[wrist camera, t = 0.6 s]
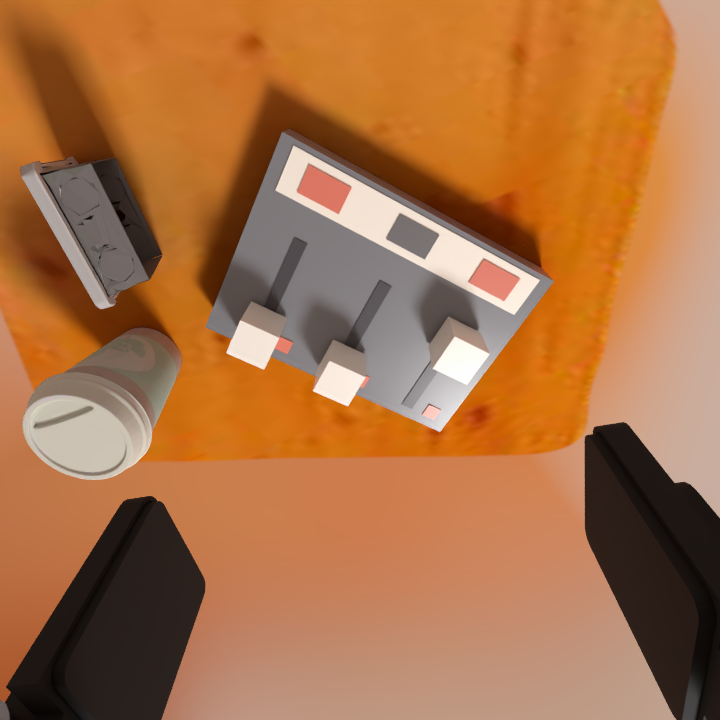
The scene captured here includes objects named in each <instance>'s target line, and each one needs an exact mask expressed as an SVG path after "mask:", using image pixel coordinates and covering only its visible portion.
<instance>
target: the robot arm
mask: <svg viewBox="0 0 720 720" xmlns="http://www.w3.org/2000/svg"><path fill="white" fill-rule="evenodd" d="M585 531H586V536H587V539H588V542H589V545H590V547H591V549H592V551H593V553H594V555H595V557H596V559H597V561H598V563H599V565H600V567H601V569H602V571H603V573H604V575H605V578H606V580H607V582H608V584H609V585H610V588H611V590H612V592H613V594H614V596H615V598H616V600H617V602H618V604H619V606H620V608H621V610H622V612H623V614H624V616H625V618H626V620H627V622H628V624H629V626H630V629H631V631H632V633H633V635H634V637H635V639H636V641H637V643H638V645H639V647H640V649H641V651H642V653H643V655H644V657H645V659H646V661H647V663H648V665H649V667H650V669H651V671H652V673H653V675H654V677H655V680H656V681H657V684H658V686H659V688H660V690H661V692H662V694H663V696H664V698H665V700H666V702H667V704H668V706H669V708H670V710H671V712H672V714H673V715H674V717H675V718H676V719H677V720H720V518H719V517H718V516H717V514H716V513H715V512H714V511H713V510H712V508H711V507H710V506H709V505H708V504H707V503H706V501H705V500H704V499H703V498H702V496H701V495H700V494H699V493H698V492H697V491H696V490H695V489H694V488H693V487H692V486H691V485H690V484H688V483H686V482H680V483H674V482H673V481H672V479H671V478H670V477H669V476H668V474H667V473H666V472H665V471H664V470H663V468H662V467H661V466H660V464H659V463H658V462H657V460H655V458H654V457H653V455H652V454H651V453H650V452H649V450H648V449H647V448H646V447H645V446H644V444H643V443H642V442H641V440H640V439H639V438H638V437H637V435H636V434H635V433H634V432H633V430H632V429H631V428H630V426H629V425H627V423H624V422H622V423H616V424H609V425H603V426H597V427H594V430H593V434H592V435H587V436H586V437H585ZM204 593H205V580H204V577H203V575H202V574H201V571H200V570H199V568H198V566H197V564H196V562H195V560H194V559H193V557H192V555H191V553H190V551H189V549H188V548H187V546H186V544H185V542H184V540H183V539H182V537H181V535H180V533H179V531H178V530H177V528H176V526H175V524H174V522H173V520H172V518H171V517H170V515H169V513H168V511H167V509H166V508H165V506H164V504H163V503H162V502H160V501H157V500H156V499H155V498H154V497H152V496H147V497H140V498H134V499H127V500H125V501H124V502H123V503H122V504H121V505H120V507H119V508H118V510H117V512H116V513H115V515H114V516H113V518H112V519H111V521H110V523H109V524H108V526H107V527H106V529H105V531H104V532H103V534H102V535H101V537H100V538H99V540H98V542H97V543H96V545H95V547H94V548H93V550H92V551H91V553H90V555H89V556H88V558H87V559H86V561H85V562H84V564H83V565H82V567H81V569H80V571H79V572H78V573H77V575H76V577H75V578H74V580H73V581H72V583H71V584H70V586H69V588H68V589H67V591H66V592H65V594H64V596H63V597H62V599H61V600H60V602H59V604H58V605H57V607H56V608H55V610H54V611H53V613H52V615H51V616H50V618H49V620H48V621H47V623H46V624H45V626H44V628H43V629H42V631H41V632H40V634H39V636H38V637H37V638H36V640H35V642H34V643H33V645H32V646H31V648H30V650H29V651H28V653H27V655H26V656H25V658H24V659H23V661H22V662H21V664H20V666H19V667H18V669H17V670H16V672H15V674H14V675H13V677H12V678H11V680H10V681H9V683H8V685H7V686H6V688H7V689H9V691H11V694H10V695H9V697H8V698H7V700H6V702H5V703H4V702H2V701H1V700H0V720H161V719H162V716H163V713H164V710H165V707H166V704H167V701H168V698H169V695H170V692H171V690H172V687H173V683H174V681H175V678H176V675H177V672H178V669H179V666H180V664H181V661H182V658H183V655H184V652H185V649H186V646H187V643H188V640H189V637H190V634H191V631H192V629H193V626H194V623H195V620H196V617H197V614H198V611H199V608H200V605H201V603H202V599H203V597H204Z"/></svg>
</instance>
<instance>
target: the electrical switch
mask: <svg viewBox="0 0 720 720" xmlns="http://www.w3.org/2000/svg"><path fill="white" fill-rule="evenodd" d="M110 159H111V160H110ZM107 160H108V161H107ZM20 171H21V177H22V178H23V180H24V182H25V184H26V185H27V187H28V189H29V191H30V192H31V194H32V196H33V198H34V199H35V201H36V203H37V205H38V206H39V208H40V210H41V212H42V213H43V215H44V217H45V219H46V220H47V222H48V224H49V226H50V227H51V229H52V231H53V233H54V234H55V236H56V238H57V240H58V241H59V243H60V245H61V246H62V248H63V250H64V252H65V253H66V255H67V257H68V259H69V260H70V262H71V264H72V266H73V267H74V269H75V271H76V273H77V274H78V276H79V278H80V280H81V281H82V283H83V285H84V287H85V288H86V290H87V292H88V294H89V295H90V297H91V299H92V301H93V302H94V304H95V305H96V306H97V307H98V308H99V309H104V308H108V307H112V306H114V305H115V304H116V300H115V299H116V297H117V296H118V295H119V293H120V292H121V291H123V290H126V289H128V288H129V287H131V286H133V285H135V284H138V283H141V282H144V281H147V280H150V278H151V276H152V274H153V273H154V271H155V269H156V267H157V265H158V263H159V261H160V259H161V257H162V256H163V255H162V256H160V255H161V252H160V250H159V248H158V246H157V244H156V241H155V239H154V237H153V235H152V233H151V231H150V229H149V227H148V225H147V223H146V221H145V218H144V216H143V214H142V212H141V210H140V208H139V206H138V204H137V202H136V200H135V198H134V195H133V193H132V191H131V189H130V187H129V185H128V183H127V181H126V179H125V177H124V175H123V172H122V170H121V168H120V166H119V164H118V162H117V160H116V159H113V158H108V159H103V160H98V161H97V160H95V161H93V162H87V163H83V164H79V163H78V162H77V161H76V160H75V159H74V157H67V159H65V160H61V161H54V162H48V163H40V161H38V162H33V163H30V164H27V165H25V166H22V167H20ZM101 175H103V176H101ZM119 180H120V181H121V182H120V181H119ZM124 192H125V196H124ZM119 201H121V202H120V203H118V204H111V203H113V202H119ZM117 210H121V211H122V212H123V213H124V215H125V219H124V220H123V221H121V222H120V220H119V218H118V216H117V214H116V212H115V211H117ZM128 224H132V225H129V226H127V227H125V228H123V227H124V226H125V225H128ZM143 229H144V230H145V231H144V230H143ZM157 256H159V257H157ZM154 257H156V258H154ZM151 258H152V259H151Z"/></svg>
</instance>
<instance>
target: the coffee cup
mask: <svg viewBox="0 0 720 720" xmlns="http://www.w3.org/2000/svg"><path fill="white" fill-rule="evenodd" d="M180 368H181V356H180V352H179V350H178V348H177V347H176V345H175V344H174V343H173V341H172V340H171V339H170V338H168V337H167V336H166V335H164V334H163V333H161V332H159V331H157V330H154V329H150V328H143V327H140V328H133V329H130V330H128V331H126V332H125V333H123V334H122V335H120V336H119V337H117V338H116V339H114V340H113V341H111V342H110V343H108V344H107V345H105V346H104V347H102V348H101V349H99V350H97V351H96V352H94V353H93V354H91V355H90V356H88V357H87V358H85V359H84V360H82V361H81V362H79V363H78V364H76V365H75V366H73V367H72V368H70V369H69V370H67V371H66V372H64V373H62V374H58V375H54V376H52V377H50V378H48V379H46V380H45V381H43V382H42V383H41V384H40V385H39V386H38V387H37V388H36V390H35V392H34V393H33V394H32V396H31V398H30V400H29V402H28V406H27V410H26V412H25V414H24V417H23V423H22V424H23V432H24V436H25V438H26V440H27V442H28V444H29V446H30V447H31V449H32V450H33V451H34V453H35V454H36V455H37V456H38V457H39V458H40V459H42V460H43V461H44V462H45V463H47V464H48V465H50V466H51V467H52V468H54V469H56V470H58V471H60V472H62V473H64V474H67V475H69V476H73V477H76V478H81V479H89V480H99V479H106V478H110V477H113V476H116V475H117V474H119V473H121V472H122V471H124V470H125V469H127V468H129V467H131V466H132V465H133V464H135V463H136V462H137V461H138V460H139V459H140V458H141V457H143V456H144V454H145V453H146V452H147V450H148V449H149V446H150V444H151V440H152V431H153V429H154V427H155V424H156V422H157V420H158V418H159V416H160V413H161V411H162V409H163V407H164V404H165V402H166V400H167V398H168V396H169V393H170V391H171V389H172V387H173V384H174V382H175V380H176V378H177V375H178V373H179V371H180Z"/></svg>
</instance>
